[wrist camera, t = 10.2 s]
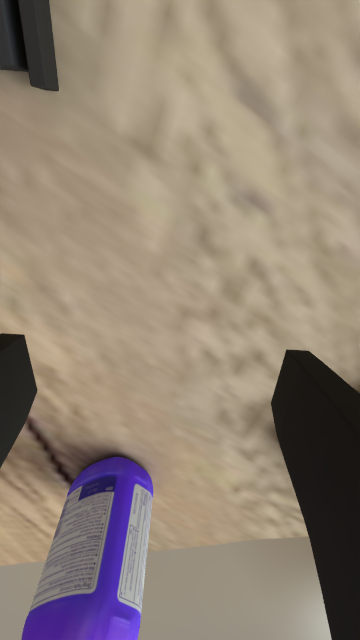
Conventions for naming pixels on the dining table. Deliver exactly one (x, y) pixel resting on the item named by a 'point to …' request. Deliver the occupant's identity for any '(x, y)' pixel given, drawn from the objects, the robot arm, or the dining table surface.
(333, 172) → the dining table surface
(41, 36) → the base pad
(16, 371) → the robot arm
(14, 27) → the connector pad
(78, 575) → the bottle
